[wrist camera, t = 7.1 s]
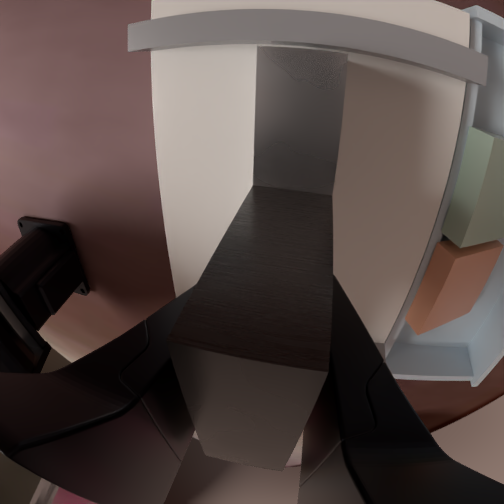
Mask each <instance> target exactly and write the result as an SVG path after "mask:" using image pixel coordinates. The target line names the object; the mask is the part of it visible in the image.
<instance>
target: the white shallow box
mask: <svg viewBox="0 0 504 504" xmlns="http://www.w3.org/2000/svg"><path fill="white" fill-rule="evenodd" d="M469 32H470V14H469V13H467V12H464V11H462V10H459V9H457V8H454V7H452V6H449V5H446V4H443V3H441V2H438V1H435V0H152V6H151V20H146V21H142V22H137V23H133V24H128V52H136V51H151V74H152V99H153V117H154V132H155V144H156V156H157V167H158V176H159V186H160V194H161V203H162V211H163V218H164V226H165V233H166V240H167V246H168V253H169V259H170V265H171V271H172V277H173V283H174V288H175V294H176V298H177V297H178V296H179V295H181V294H182V293H184V292H185V291H187V290H188V289H190V288H191V287H193V286H194V285H195V284H197V282H198V280H199V279H200V277H201V275H202V273H203V271H204V270H205V268H206V266H207V264H208V262H209V261H210V259H211V257H212V255H213V254H214V252H215V250H216V248H217V246H218V245H219V243H220V241H221V239H222V238H223V236H224V234H225V232H226V231H227V229H228V227H229V225H230V224H231V222H232V220H233V218H234V217H235V215H236V213H237V212H238V210H239V208H240V206H241V205H242V203H243V201H244V200H245V198H246V196H247V194H248V193H249V191H250V189H251V188H252V186H253V164H254V129H255V95H256V61H257V46H274V47H292V48H305V49H315V50H324V51H332V52H340V53H347V54H348V62H347V75H346V87H345V98H344V109H343V118H342V127H341V136H340V144H339V152H338V160H337V167H336V174H335V181H334V188H333V195H332V200H333V274H334V275H335V276H336V278H337V280H338V281H339V283H340V285H341V286H342V288H343V290H344V291H345V293H346V295H347V296H348V298H349V300H350V301H351V303H352V305H353V306H354V308H355V310H356V311H357V313H358V315H359V316H360V318H361V320H362V322H363V323H364V325H365V327H366V329H367V330H368V332H369V334H370V336H371V337H372V339H373V341H374V343H375V344H376V346H377V348H378V350H379V351H380V353H381V355H382V357H383V359H384V362H386V358H385V346H384V343H385V341H386V339H387V337H388V335H389V333H390V331H391V329H392V327H393V325H394V323H395V321H396V319H397V317H398V314H399V312H400V310H401V308H402V306H403V303H404V301H405V299H406V297H407V294H408V292H409V290H410V287H411V285H412V283H413V280H414V278H415V275H416V273H417V270H418V268H419V265H420V263H421V260H422V257H423V255H424V252H425V249H426V247H427V244H428V241H429V238H430V235H431V232H432V229H433V226H434V223H435V220H436V217H437V214H438V211H439V208H440V204H441V201H442V198H443V194H444V190H445V187H446V183H447V179H448V176H449V172H450V168H451V164H452V159H453V155H454V150H455V146H456V141H457V136H458V131H459V126H460V120H461V114H462V108H463V101H464V94H465V86H466V82H467V83H472V84H477V85H482V86H486V80H487V69H488V56H486V55H484V54H482V53H479V52H477V51H475V50H472V49H470V48H469Z"/></svg>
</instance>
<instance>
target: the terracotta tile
mask: <svg viewBox="0 0 504 504" xmlns="http://www.w3.org/2000/svg"><path fill="white" fill-rule="evenodd" d="M503 246H504V245H503V244H501V243H500V242H499V241H498V240H493V241H489V242H485V243H481V244H476V245H472V246H468V247H463V248H459V247H458V246H457V245H456V244H455V243H453V242H452V241H451V240H447V241H441V242H437V244H436V247H435V250H434V252H433V255H432V257H431V260H430V263H429V265H428V268H427V270H426V272H425V275H424V277H423V280H422V282H421V284H420V286H419V289H418V291H417V293H416V295H415V298H414V300H413V302H412V304H411V306H410V308H409V310H408V313H407V315H406V317H405V320H406V321H407V322H408V324H409V325H410V326H411V328H412V329H413V330H414V332H415V333H416V334H417V335H420V334H422V333H425V332H427V331H429V330H432V329H434V328H436V327H439V326H441V325H443V324H446V323H448V322H450V321H452V320H454V319H456V318H459V317H461V316H463V315H465V314H467V313H469V312H470V311H471V309H472V307H473V306H474V304H475V302H476V300H477V299H478V297H479V295H480V293H481V291H482V290H483V288H484V286H485V284H486V282H487V280H488V278H489V276H490V274H491V272H492V270H493V268H494V266H495V264H496V262H497V260H498V257H499V255H500V253H501V251H502V249H503Z"/></svg>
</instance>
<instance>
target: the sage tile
mask: <svg viewBox="0 0 504 504" xmlns="http://www.w3.org/2000/svg"><path fill="white" fill-rule="evenodd" d="M441 232H442V233H443V234H444V235H445V236H446V237H448V238H449V239H450V240H451V241H452V242H453V243H455V244H456V245H457V246H458V247H459V248H463V247H468V246H472V245H476V244H481V243H485V242H489V241H493V240H497V239H501V238H504V137H503V136H500V135H497V134H494V133H491V132H488V131H485V130H481V129H478V128H475V127H471V126H469V131H468V136H467V141H466V146H465V150H464V155H463V159H462V163H461V167H460V171H459V175H458V179H457V182H456V186H455V189H454V193H453V196H452V200H451V203H450V206H449V209H448V213H447V216H446V219H445V222H444V225H443V228H442V230H441Z"/></svg>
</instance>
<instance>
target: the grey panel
mask: <svg viewBox="0 0 504 504" xmlns="http://www.w3.org/2000/svg"><path fill="white" fill-rule="evenodd" d="M347 62H348V54H347V53H340V52H332V51H324V50H315V49H305V48H292V47H274V46H257V61H256V95H255V129H254V164H253V186H252V188H251V189H250V191H249V193H248V194H247V196H246V198H245V200H244V201H243V203H242V205H241V206H240V208H239V210H238V212H237V213H236V215H235V217H234V218H233V220H232V222H231V224H230V225H229V227H228V229H227V231H226V232H225V234H224V236H223V238H222V239H221V241H220V243H219V245H218V246H217V248H216V250H215V252H214V254H213V255H212V257H211V259H210V261H209V262H208V264H207V266H206V268H205V270H204V271H203V273H202V275H201V277H200V279H199V280H198V282H197V284H196V286H195V288H194V289H193V291H192V293H191V295H190V297H189V299H188V300H187V302H186V304H185V306H184V308H183V310H182V311H181V313H180V315H179V317H178V319H177V321H176V323H175V324H174V326H173V328H172V330H171V332H170V334H169V336H168V338H167V339H166V342H167V346H168V349H169V352H170V356H171V359H172V362H173V366H174V369H175V372H176V375H177V378H178V381H179V385H180V388H181V391H182V394H183V397H184V399H185V402H186V405H187V408H188V411H189V414H190V416H191V419H192V422H193V425H194V427H195V430H196V433H197V435H198V438H199V440H200V443H201V446H202V448H203V450H204V453H205V455H207V456H210V457H214V458H218V459H222V460H226V461H231V462H235V463H240V464H244V465H250V466H254V467H260V468H265V469H271V470H278V471H283V469H284V467H285V465H286V463H287V461H288V460H289V458H290V456H291V454H292V452H293V450H294V448H295V446H296V444H297V442H298V440H299V438H300V435H301V433H302V431H303V429H304V427H305V425H306V423H307V421H308V418H309V416H310V414H311V412H312V410H313V407H314V405H315V403H316V401H317V398H318V396H319V394H320V391H321V389H322V387H323V384H324V382H325V379H326V377H327V375H328V371H329V358H330V343H331V324H332V299H333V200H332V195H333V188H334V181H335V174H336V167H337V160H338V152H339V144H340V136H341V127H342V118H343V109H344V98H345V87H346V75H347Z"/></svg>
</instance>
